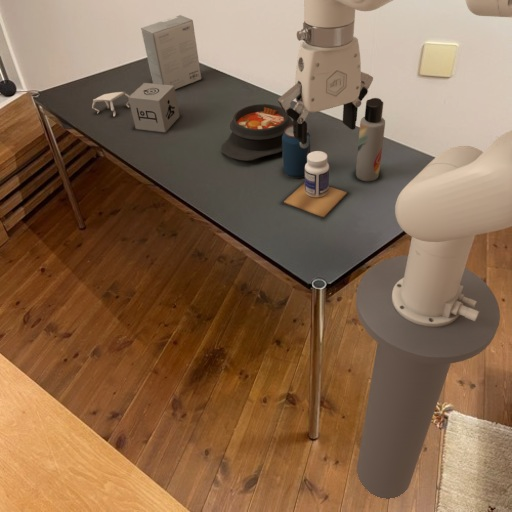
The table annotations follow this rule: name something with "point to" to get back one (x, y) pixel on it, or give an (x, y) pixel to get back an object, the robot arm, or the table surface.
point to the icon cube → (154, 107)
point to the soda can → (294, 154)
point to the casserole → (256, 132)
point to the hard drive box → (172, 52)
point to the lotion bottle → (370, 141)
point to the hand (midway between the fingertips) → (325, 133)
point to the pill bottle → (316, 174)
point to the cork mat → (315, 201)
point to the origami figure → (109, 100)
